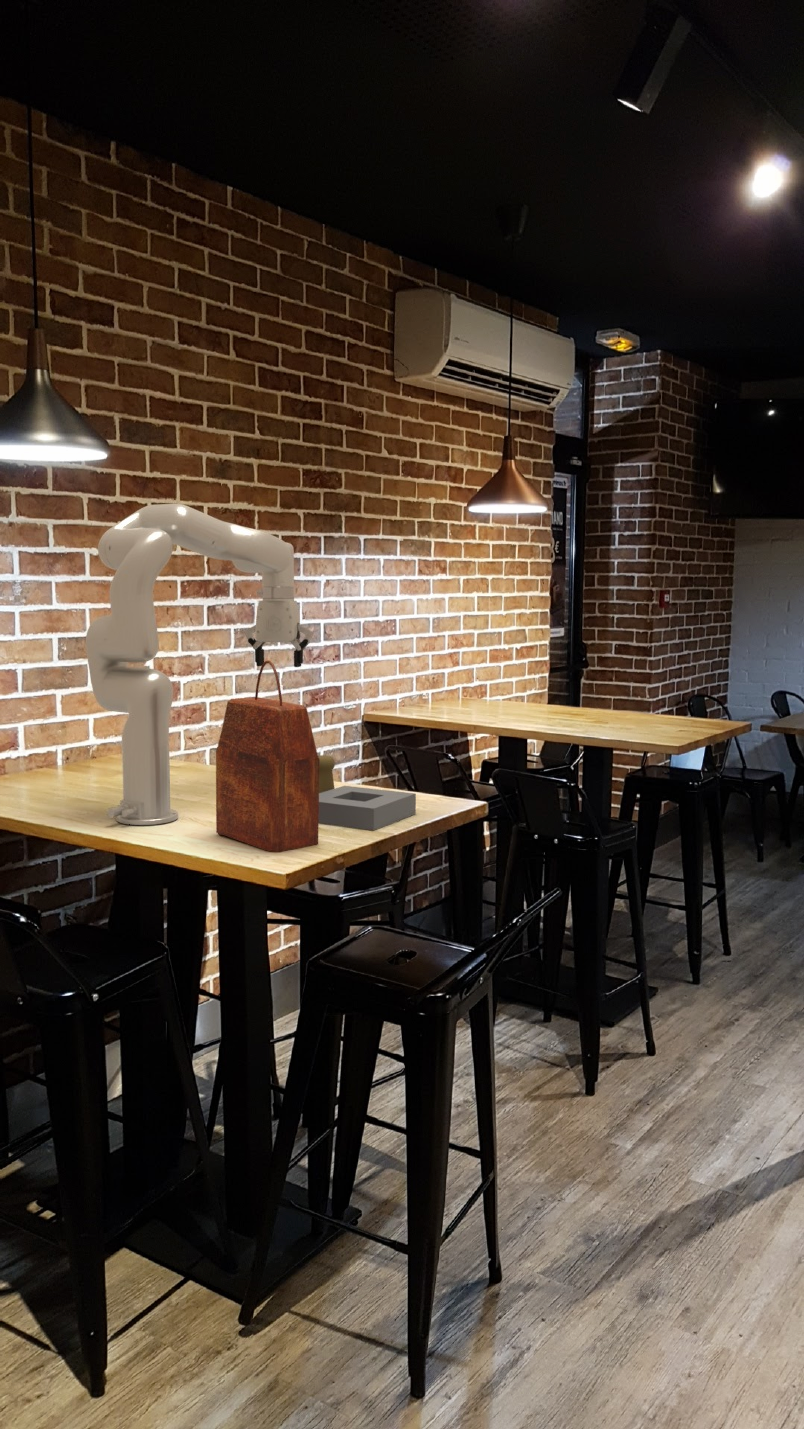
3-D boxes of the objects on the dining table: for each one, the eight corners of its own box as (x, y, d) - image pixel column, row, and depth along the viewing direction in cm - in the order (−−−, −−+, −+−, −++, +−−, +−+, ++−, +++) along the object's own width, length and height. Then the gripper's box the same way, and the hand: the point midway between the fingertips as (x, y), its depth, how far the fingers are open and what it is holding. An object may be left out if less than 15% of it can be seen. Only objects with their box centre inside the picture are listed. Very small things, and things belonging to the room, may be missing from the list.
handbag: (273, 855, 193) (275, 665, 188) (215, 834, 207) (215, 657, 203) (318, 846, 200) (321, 662, 195) (259, 827, 214) (260, 655, 210)
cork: (311, 801, 241) (311, 753, 239) (337, 801, 240) (337, 753, 239) (308, 806, 235) (308, 757, 233) (335, 807, 234) (335, 758, 233)
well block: (373, 830, 212) (373, 808, 211) (299, 820, 220) (299, 799, 220) (415, 814, 228) (415, 793, 227) (344, 805, 236) (344, 785, 236)
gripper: (238, 594, 250) (239, 666, 252) (306, 595, 246) (307, 668, 248) (251, 594, 257) (252, 664, 259) (317, 594, 253) (318, 666, 255)
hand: (278, 666), depth 253 cm, fingers open, 9 cm apart
